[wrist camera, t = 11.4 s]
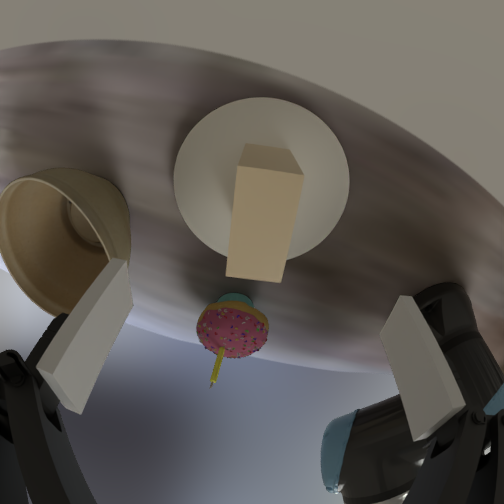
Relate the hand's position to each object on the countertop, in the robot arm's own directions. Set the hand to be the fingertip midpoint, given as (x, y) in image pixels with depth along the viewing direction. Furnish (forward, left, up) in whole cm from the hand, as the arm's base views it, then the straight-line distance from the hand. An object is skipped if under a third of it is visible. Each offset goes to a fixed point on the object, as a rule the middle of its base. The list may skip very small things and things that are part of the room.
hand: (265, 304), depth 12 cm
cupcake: (+1, +16, -18) cm, 24 cm away
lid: (0, 0, -17) cm, 17 cm away
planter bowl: (+19, +5, -18) cm, 27 cm away
